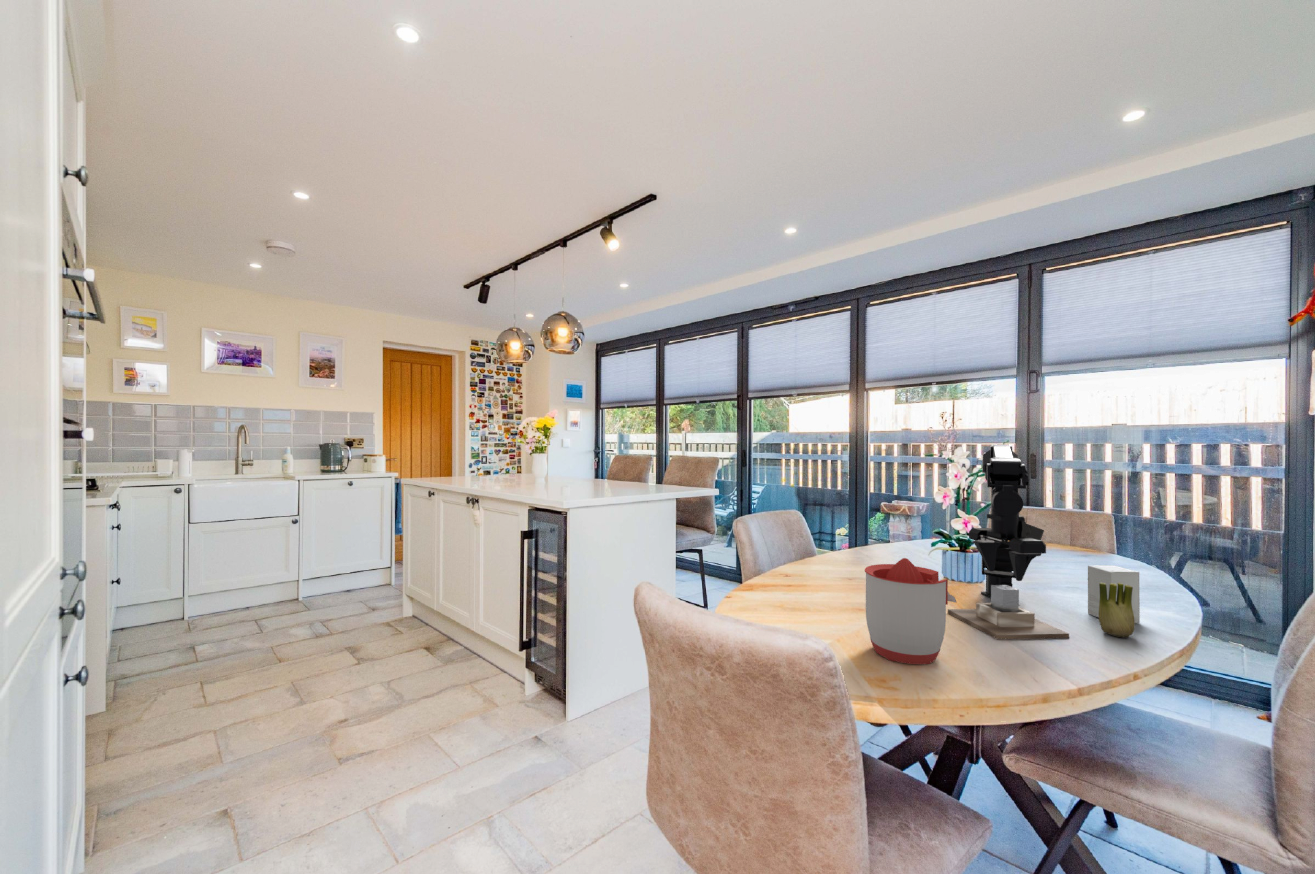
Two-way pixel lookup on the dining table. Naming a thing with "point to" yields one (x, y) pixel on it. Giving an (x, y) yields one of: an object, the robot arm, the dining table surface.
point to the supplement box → (1108, 577)
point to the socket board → (1007, 623)
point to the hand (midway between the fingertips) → (1004, 575)
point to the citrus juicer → (906, 611)
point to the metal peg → (1004, 598)
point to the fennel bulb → (1116, 610)
